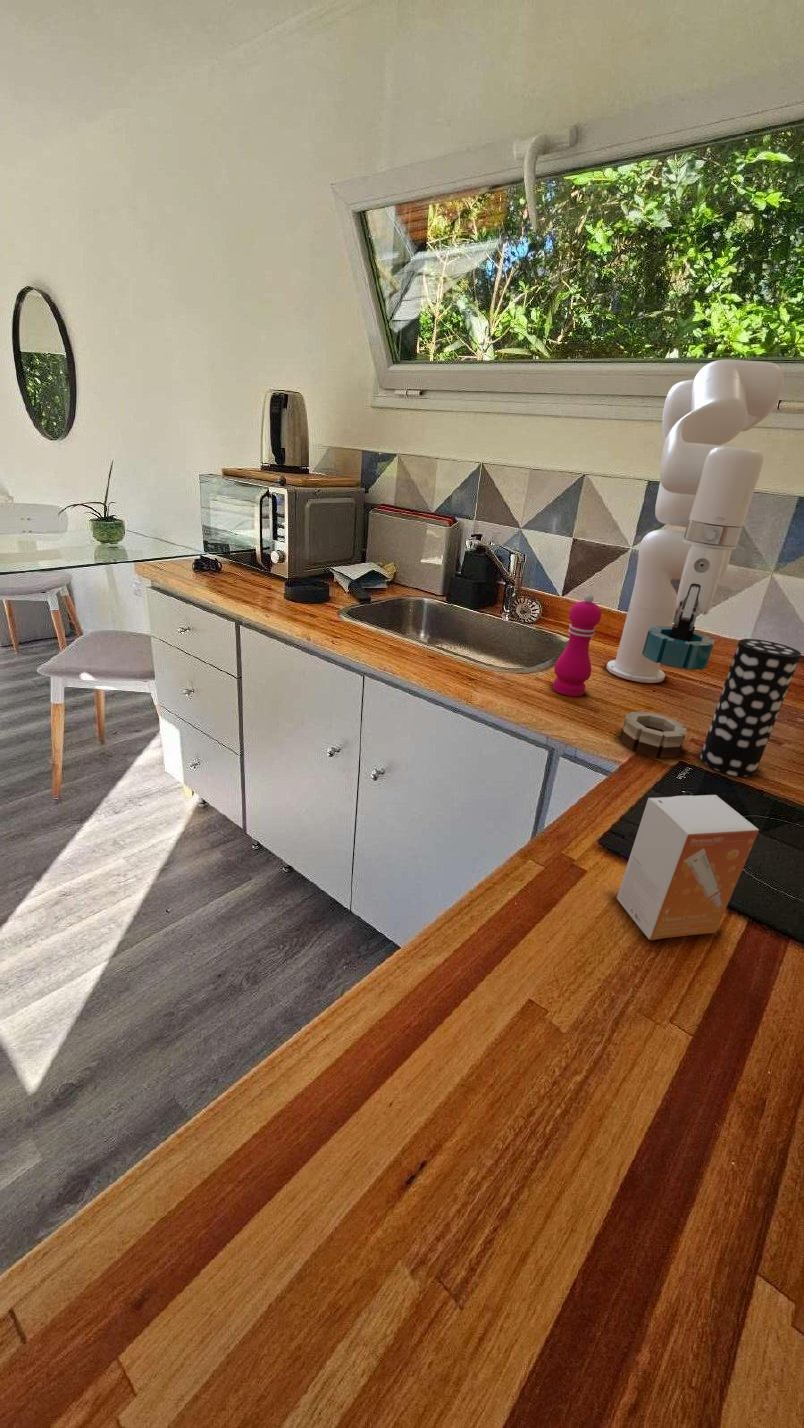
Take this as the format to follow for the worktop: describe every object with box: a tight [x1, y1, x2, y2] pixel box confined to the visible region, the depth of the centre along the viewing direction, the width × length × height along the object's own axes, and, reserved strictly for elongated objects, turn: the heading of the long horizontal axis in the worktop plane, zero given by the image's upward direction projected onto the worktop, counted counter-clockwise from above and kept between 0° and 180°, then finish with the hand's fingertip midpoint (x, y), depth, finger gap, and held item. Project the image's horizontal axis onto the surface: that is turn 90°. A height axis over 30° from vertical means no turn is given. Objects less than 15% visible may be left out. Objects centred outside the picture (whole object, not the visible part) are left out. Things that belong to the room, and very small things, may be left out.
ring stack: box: [619, 710, 688, 759], centre depth 101 cm, size 10×10×4 cm
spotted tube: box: [700, 638, 802, 778], centre depth 93 cm, size 8×8×20 cm
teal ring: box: [642, 626, 715, 671], centre depth 95 cm, size 10×10×4 cm
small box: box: [616, 794, 760, 941], centre depth 60 cm, size 8×6×13 cm
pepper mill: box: [552, 593, 602, 697], centre depth 118 cm, size 7×7×20 cm
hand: (677, 649), depth 98 cm, fingers closed on teal ring, 2 cm apart
